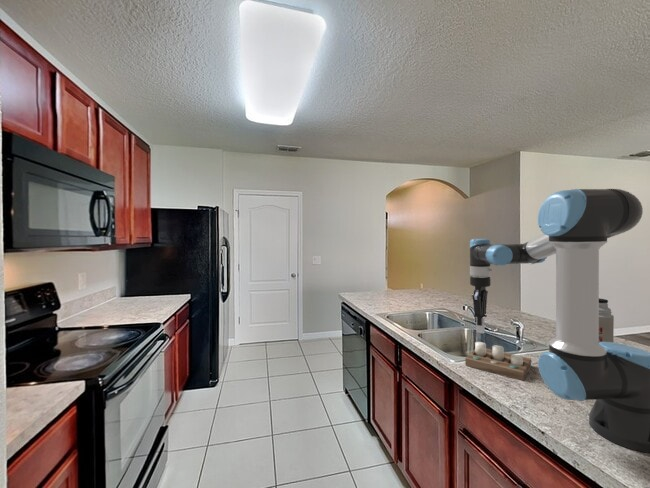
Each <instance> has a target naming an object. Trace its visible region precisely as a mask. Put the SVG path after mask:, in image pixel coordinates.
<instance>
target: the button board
mask: <svg viewBox="0 0 650 488" xmlns="http://www.w3.org/2000/svg"><path fill="white" fill-rule="evenodd" d="M511 355H515V354H514V353H513V354H512V353H510V352H509V353H508V352H504V361H497V360H493V359H492V349H490V348H486V357H480V356H476V355H475V349H474V350H472V351H471V352H470V353H469V354H468V355H467V356H466V357H465V360H464V361H465V363H464V365H465V366H466V367H469V368H474V369H477V370H481V371H485V372H489V373H492V374H496V375H500V376H504V377H509V378H513V379H515V380H519V381H524V380H525V379H526V377H527V375H528V373H529V371H530V369H531V367H532V358H531V357H529V356H528V357H526V356H522V355H520V356H521V357H523V366H519V365H514V364H511Z"/></svg>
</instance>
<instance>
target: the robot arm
mask: <svg viewBox="0 0 650 488" xmlns="http://www.w3.org/2000/svg"><path fill="white" fill-rule="evenodd" d="M643 213H644V211H643V205H642V203H641V201H640V199H639V198H638V197H637V196H635V195H634V194H632V192H629V191H627V190H625V189H621V188H596V189H595V188H594V189H593V188H591V189H590V188H585V189H583V188H575V189H573V188H572V189H565V190H558V191H555V192H553V193H551V194H550V195H549V196H547V197H546V199H545V200H544V201H543V202H542V204H541V205H540V208H539V210H538V214H537V225H538V228H539V229H540V231H541V232H542V233H543V234H542V235H539V236H537V237H535V238H532V239H531V240H529V241H527V242H525V243H513V244H511V243H508V244H506V243H505V244H491V240H490V238H471V239H470V241H469V275H470V277H469V284H470V286H472V287H474V290H473V294H472V303H473V311H474V312H473V313H474V315H473V317H474V318H476V319H475V321H476V322H475V323H476V326H475V327H476V328H475V329H476V333H479V334H485V332H486V331H485V328H486V327H485V318H487V317H488V315H487V303H488V292H489V291H488V290H487V288H488V287H490V286H491V277H490V276H491V272H492V270H493V269H492V268H491V265H494V266H503V267H504V266H507V265H517V264H519V265H521V264H525V265H526V264H530V265H531V264H532V265H535V264H539V263H543V262H545V261H546V259H547V258H548V257H551V256H553V255H555V337H553V338H552V339H550V340H549V343H548V351H545V352H543V353H541V355H540V356H538V357H539V358H538V359H537V360H538V361H537V362H538V363H537V365H538V371H539V373H540V374H539V375H540V376H541V378H542V380H543V381H544V383H545V385H546V386H547V388H548V389H549V390H550V391H551V392H552V394H554V395H555V396H557V397H559V398H560V399H562V400H566V401H579V402H584V401H588V400H589V401H591V400H594V403H593V405H592V407H591V409H590V411H589V413H588V424H589V425H590V427H591V429H593V431H595V432H596V433H597V434H598V435H600V436H602V437H603V438H605V439H606V440H608V441H610V442H612V443H615V444H617V445H619V446H621V447H625V448H627V449H630V450H633V451H638V452H643V453H647V454H649V453H650V352H649V351H647V350H644V349H641V348H638V347H634V346H631V345H627V344H623V343H617V342H614V341H613V342H599V298H600V297H599V295H600V291H599V290H600V283H599V282H600V249H601V248H602V247H603V246H604V245H606V244H607V243H608V239H609V238H613V237H615V236H619V235H620V234H624V233H626V232H628V231H630V230H632V229H633V228H634V227H636V226H637V225H638V224H639V222H640V221H641V219H642V216H643Z"/></svg>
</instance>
